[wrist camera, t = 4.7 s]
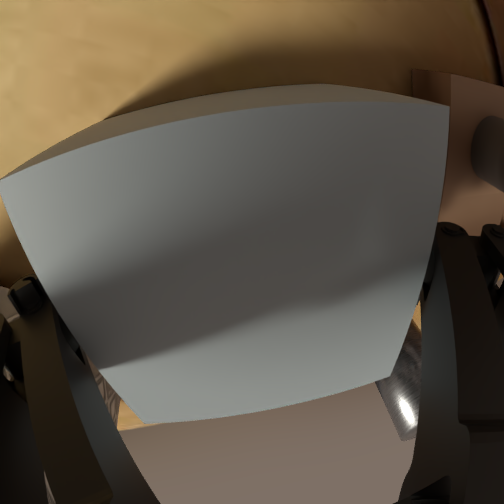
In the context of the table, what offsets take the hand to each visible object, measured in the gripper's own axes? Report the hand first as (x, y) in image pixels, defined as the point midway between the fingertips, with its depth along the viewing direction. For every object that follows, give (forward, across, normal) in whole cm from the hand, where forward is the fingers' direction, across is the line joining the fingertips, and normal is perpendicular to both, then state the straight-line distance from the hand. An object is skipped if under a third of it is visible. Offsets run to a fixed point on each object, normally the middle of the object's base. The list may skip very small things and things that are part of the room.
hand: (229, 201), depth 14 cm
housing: (0, 0, 0) cm, 0 cm away
